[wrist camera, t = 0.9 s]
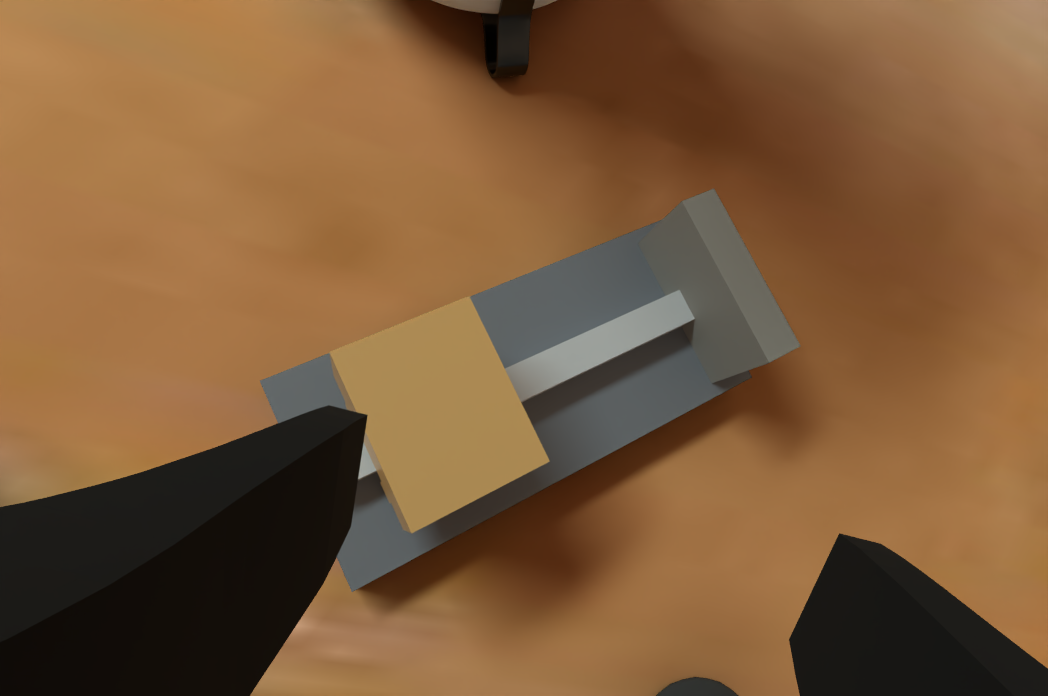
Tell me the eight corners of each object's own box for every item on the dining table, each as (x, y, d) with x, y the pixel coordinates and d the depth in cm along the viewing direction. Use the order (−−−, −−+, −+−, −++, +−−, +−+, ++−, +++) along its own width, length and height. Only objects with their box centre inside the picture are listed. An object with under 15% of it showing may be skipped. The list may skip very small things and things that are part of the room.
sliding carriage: (400, 529, 19) (411, 533, 15) (334, 382, 20) (329, 351, 16) (514, 470, 20) (549, 461, 17) (449, 334, 21) (469, 296, 17)
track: (352, 586, 20) (351, 609, 15) (266, 389, 21) (239, 354, 16) (730, 384, 25) (814, 356, 21) (649, 233, 26) (714, 173, 21)
